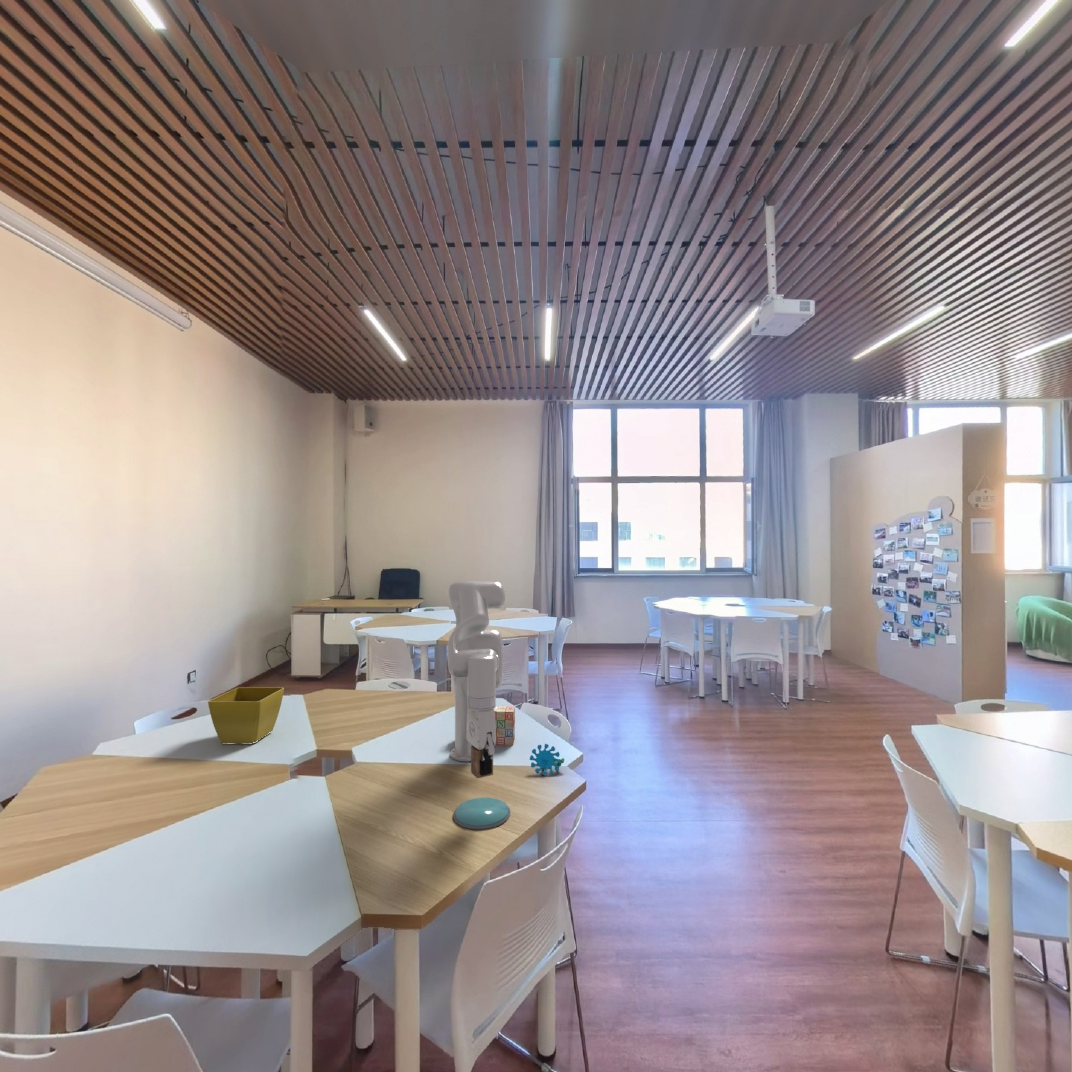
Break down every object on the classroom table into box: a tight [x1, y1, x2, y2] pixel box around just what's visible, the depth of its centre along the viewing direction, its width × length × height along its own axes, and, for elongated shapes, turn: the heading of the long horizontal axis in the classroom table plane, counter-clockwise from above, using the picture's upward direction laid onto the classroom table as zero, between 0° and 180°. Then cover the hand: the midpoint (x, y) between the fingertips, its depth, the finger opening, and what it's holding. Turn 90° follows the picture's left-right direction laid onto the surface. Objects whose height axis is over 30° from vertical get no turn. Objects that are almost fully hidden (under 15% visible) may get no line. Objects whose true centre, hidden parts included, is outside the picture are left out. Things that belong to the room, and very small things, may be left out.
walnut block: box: [470, 745, 494, 779], centre depth 139 cm, size 4×4×7 cm
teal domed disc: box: [453, 797, 511, 831], centre depth 139 cm, size 15×15×1 cm
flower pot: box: [207, 686, 285, 744], centre depth 197 cm, size 19×19×17 cm
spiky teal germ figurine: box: [529, 743, 565, 777], centre depth 167 cm, size 11×6×10 cm
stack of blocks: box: [494, 705, 516, 746], centre depth 192 cm, size 21×6×12 cm, turn 87°
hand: (481, 770), depth 139 cm, fingers closed on walnut block, 4 cm apart
